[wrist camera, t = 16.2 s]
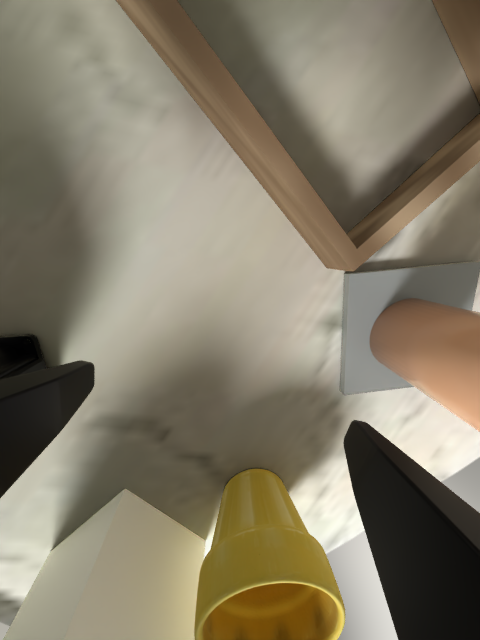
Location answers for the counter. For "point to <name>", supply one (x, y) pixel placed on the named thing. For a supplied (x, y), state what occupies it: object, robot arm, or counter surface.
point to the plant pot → (265, 570)
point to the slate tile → (378, 294)
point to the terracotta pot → (433, 352)
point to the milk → (116, 579)
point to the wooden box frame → (273, 160)
